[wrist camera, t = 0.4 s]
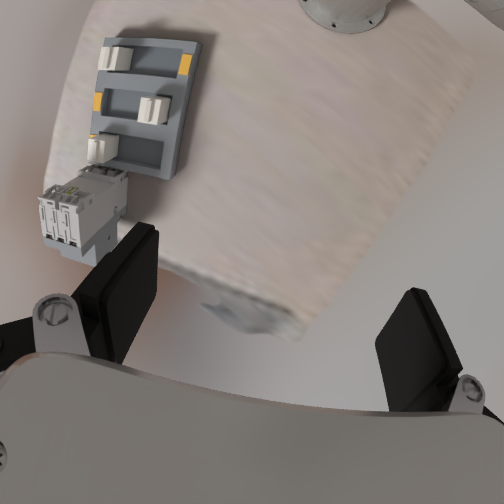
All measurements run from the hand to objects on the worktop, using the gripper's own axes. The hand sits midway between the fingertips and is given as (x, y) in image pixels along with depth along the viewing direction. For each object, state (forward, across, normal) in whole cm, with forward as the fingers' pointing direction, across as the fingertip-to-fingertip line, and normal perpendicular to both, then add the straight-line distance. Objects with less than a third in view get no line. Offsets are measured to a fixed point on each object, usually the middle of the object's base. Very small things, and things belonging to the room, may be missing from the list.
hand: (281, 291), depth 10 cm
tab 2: (+34, +26, +6) cm, 43 cm away
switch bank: (+35, +22, -1) cm, 42 cm away
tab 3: (+34, +18, -1) cm, 38 cm away
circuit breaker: (+36, +27, +18) cm, 48 cm away
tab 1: (+34, +26, -8) cm, 43 cm away
